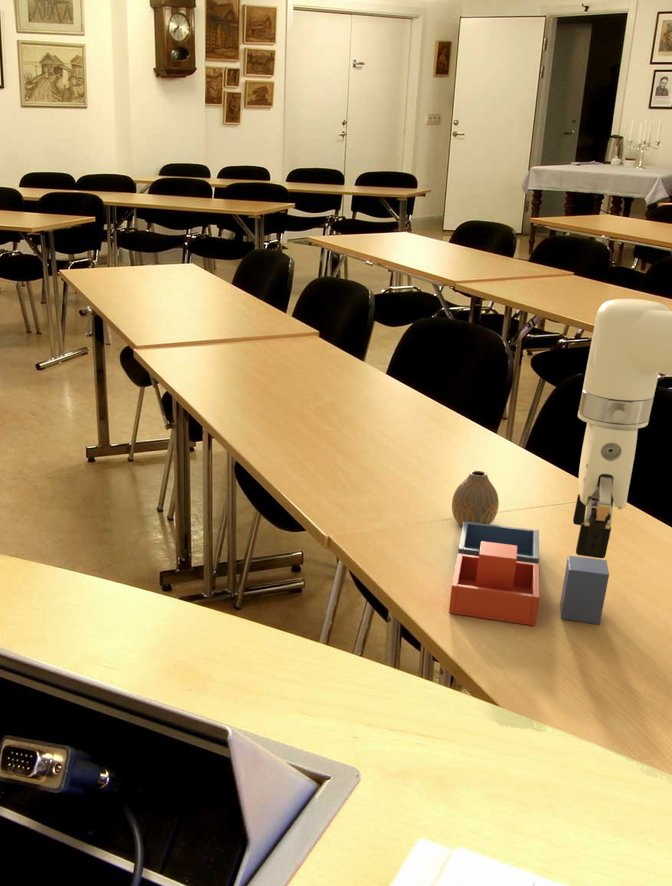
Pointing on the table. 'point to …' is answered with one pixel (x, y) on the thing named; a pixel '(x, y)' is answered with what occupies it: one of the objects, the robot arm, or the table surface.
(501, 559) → the red block
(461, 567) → the red bin
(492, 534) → the blue bin
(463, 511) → the vase
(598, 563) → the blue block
